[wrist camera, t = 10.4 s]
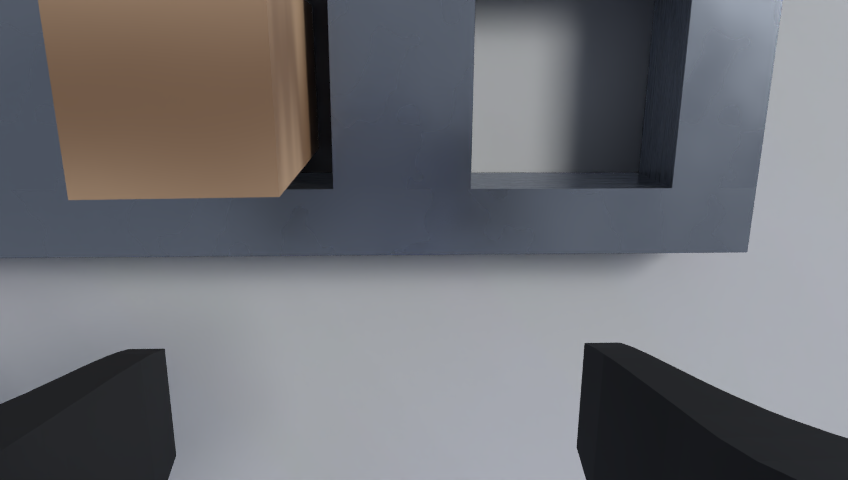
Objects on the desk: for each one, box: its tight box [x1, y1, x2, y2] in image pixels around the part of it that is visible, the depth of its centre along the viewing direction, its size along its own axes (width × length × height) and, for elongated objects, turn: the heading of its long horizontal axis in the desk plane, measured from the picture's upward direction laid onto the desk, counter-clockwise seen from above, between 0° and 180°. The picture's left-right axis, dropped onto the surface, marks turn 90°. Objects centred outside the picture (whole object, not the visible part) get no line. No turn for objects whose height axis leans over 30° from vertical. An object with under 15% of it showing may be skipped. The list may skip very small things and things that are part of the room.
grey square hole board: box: [0, 0, 783, 258], centre depth 18 cm, size 9×28×2 cm, turn 90°
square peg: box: [38, 0, 319, 200], centre depth 16 cm, size 4×4×7 cm
